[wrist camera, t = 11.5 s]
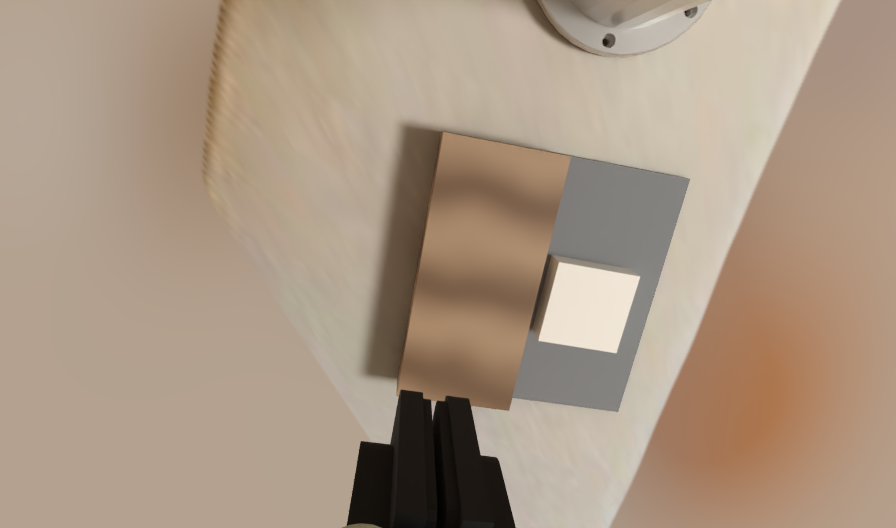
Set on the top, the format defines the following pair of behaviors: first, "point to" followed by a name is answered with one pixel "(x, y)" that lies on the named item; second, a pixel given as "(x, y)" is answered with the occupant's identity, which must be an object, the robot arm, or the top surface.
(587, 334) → the block
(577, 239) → the mat
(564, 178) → the board
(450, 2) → the top surface
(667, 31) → the robot arm
